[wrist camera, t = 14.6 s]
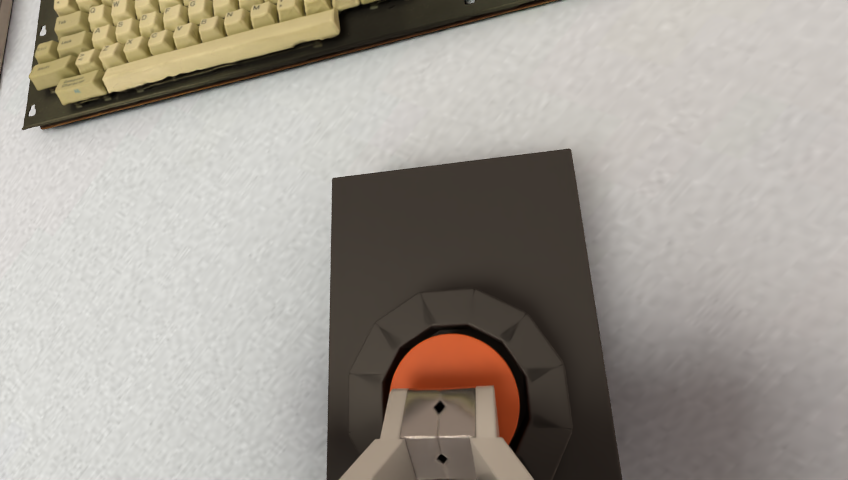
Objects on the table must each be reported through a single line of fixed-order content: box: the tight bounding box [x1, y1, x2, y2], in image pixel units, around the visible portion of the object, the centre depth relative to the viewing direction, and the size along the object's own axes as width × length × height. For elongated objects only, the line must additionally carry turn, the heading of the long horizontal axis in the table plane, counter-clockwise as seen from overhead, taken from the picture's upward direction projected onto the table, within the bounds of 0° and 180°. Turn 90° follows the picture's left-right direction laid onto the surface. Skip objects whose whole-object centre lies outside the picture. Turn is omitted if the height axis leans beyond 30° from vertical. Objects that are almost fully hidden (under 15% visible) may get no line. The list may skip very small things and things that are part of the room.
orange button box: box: [327, 149, 622, 480], centre depth 16 cm, size 12×10×6 cm
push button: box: [389, 333, 520, 445], centre depth 14 cm, size 4×4×2 cm
